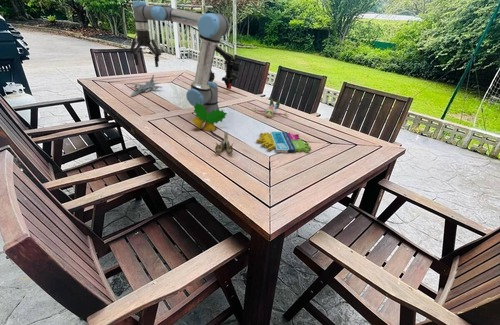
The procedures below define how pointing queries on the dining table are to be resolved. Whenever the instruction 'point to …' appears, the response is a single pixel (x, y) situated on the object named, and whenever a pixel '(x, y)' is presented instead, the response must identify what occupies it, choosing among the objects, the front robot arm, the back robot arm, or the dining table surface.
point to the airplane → (145, 87)
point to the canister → (229, 86)
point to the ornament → (207, 117)
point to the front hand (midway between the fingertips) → (147, 66)
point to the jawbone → (224, 145)
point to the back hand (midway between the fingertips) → (228, 87)
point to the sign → (283, 142)
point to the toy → (271, 109)
